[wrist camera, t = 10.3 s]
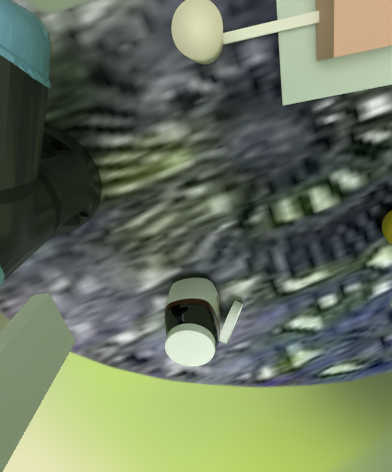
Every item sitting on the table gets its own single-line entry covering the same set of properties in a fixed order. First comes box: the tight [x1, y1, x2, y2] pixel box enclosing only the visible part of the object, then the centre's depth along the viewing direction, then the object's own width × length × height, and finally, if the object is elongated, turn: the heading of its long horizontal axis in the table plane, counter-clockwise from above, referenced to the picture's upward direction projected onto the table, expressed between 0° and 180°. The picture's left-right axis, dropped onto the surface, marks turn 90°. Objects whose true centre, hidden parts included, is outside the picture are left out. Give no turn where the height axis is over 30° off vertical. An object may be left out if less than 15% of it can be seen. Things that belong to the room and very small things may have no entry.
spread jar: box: [165, 277, 243, 366], centre depth 46 cm, size 12×11×12 cm
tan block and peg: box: [172, 0, 392, 64], centre depth 28 cm, size 22×8×12 cm, turn 101°
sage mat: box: [276, 0, 392, 105], centre depth 32 cm, size 14×16×1 cm
